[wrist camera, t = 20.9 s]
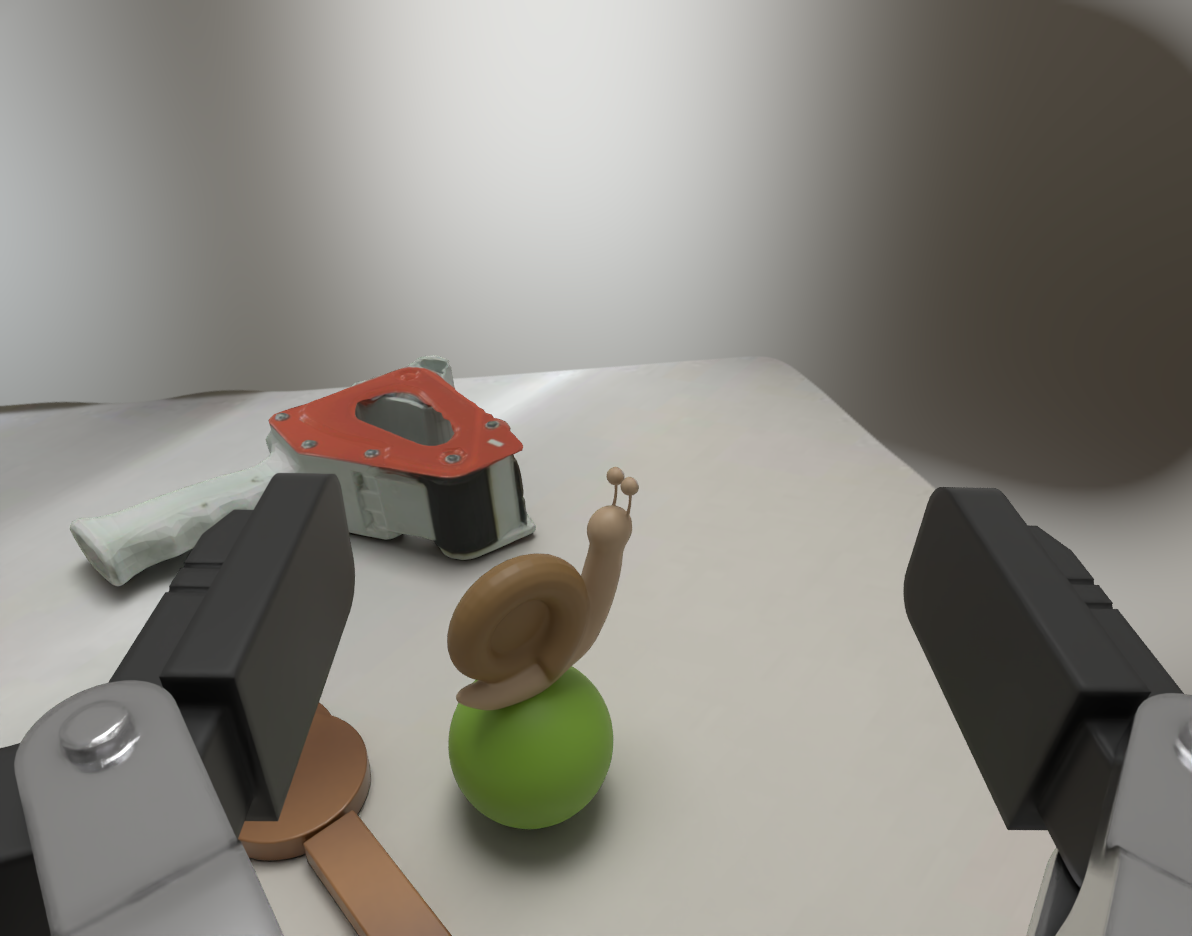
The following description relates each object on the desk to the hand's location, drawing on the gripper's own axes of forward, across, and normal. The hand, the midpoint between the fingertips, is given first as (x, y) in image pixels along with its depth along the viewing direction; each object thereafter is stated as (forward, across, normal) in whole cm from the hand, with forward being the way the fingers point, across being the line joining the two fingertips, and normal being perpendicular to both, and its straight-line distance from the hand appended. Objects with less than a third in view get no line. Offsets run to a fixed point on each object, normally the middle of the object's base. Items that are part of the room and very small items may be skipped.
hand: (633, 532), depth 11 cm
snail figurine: (+9, +2, +18) cm, 21 cm away
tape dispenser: (+26, +12, +19) cm, 34 cm away
